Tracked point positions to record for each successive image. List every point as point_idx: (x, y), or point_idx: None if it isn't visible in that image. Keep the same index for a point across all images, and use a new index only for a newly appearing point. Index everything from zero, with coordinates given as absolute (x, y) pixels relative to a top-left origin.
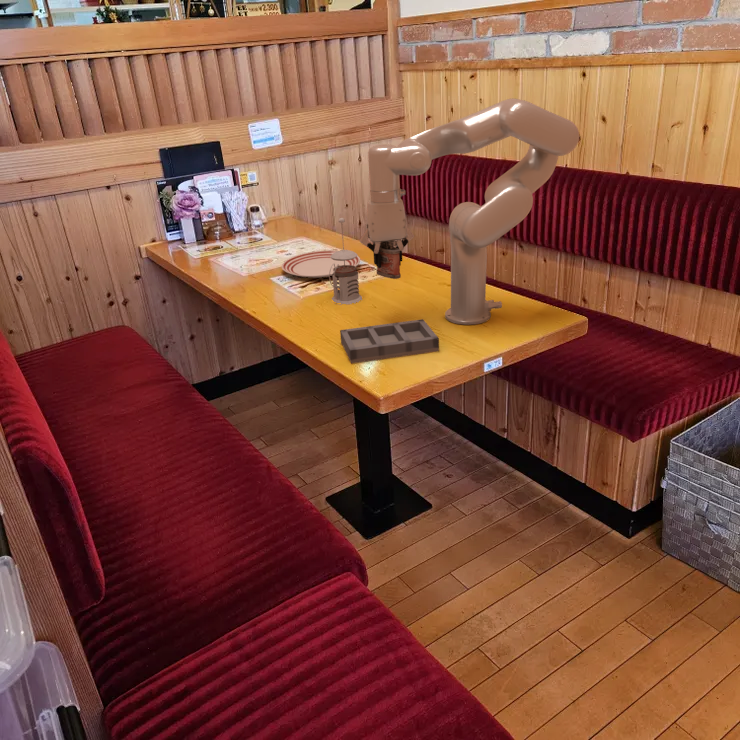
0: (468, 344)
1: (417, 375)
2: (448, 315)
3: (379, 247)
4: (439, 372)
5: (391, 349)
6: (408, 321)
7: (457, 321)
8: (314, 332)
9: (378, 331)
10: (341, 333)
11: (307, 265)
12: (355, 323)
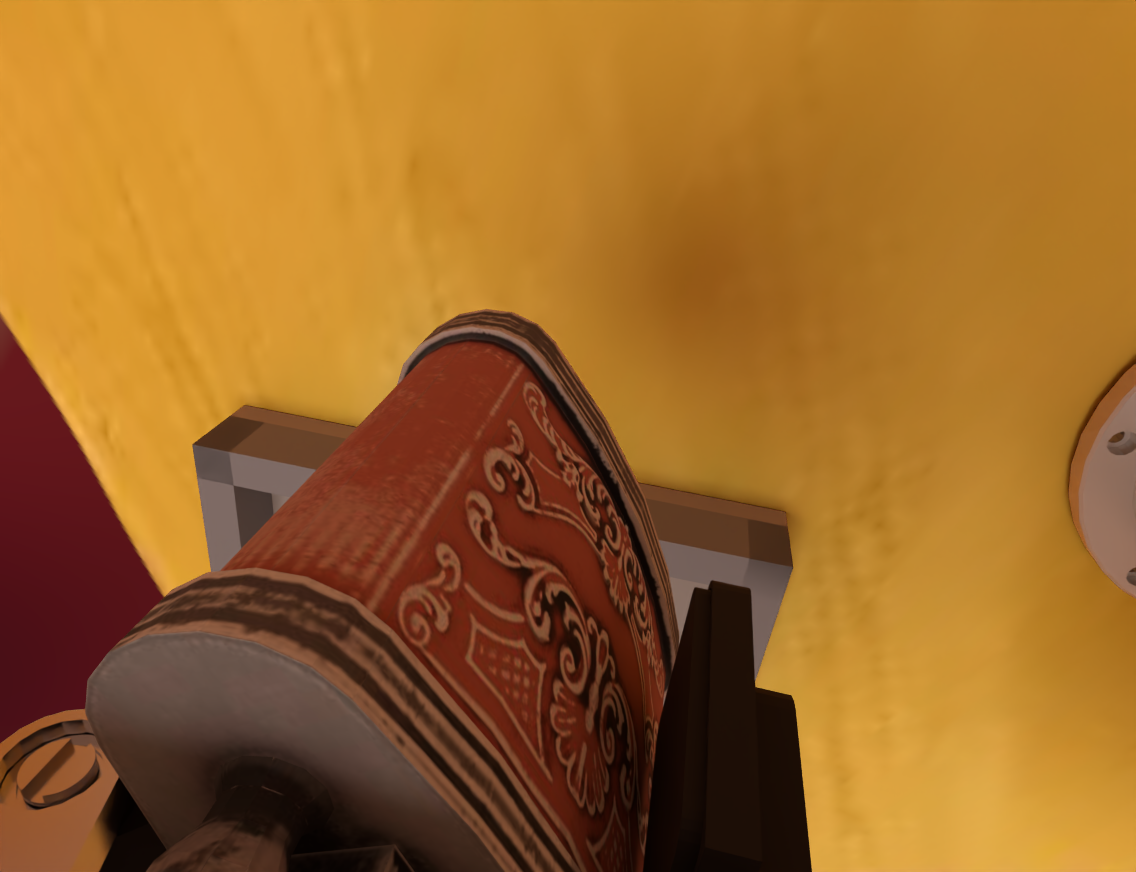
0: (903, 764)
1: None
2: (1127, 428)
3: (197, 820)
4: None
5: None
6: (674, 549)
7: (1088, 550)
8: (77, 153)
9: None
10: (201, 480)
11: None
12: (388, 124)
